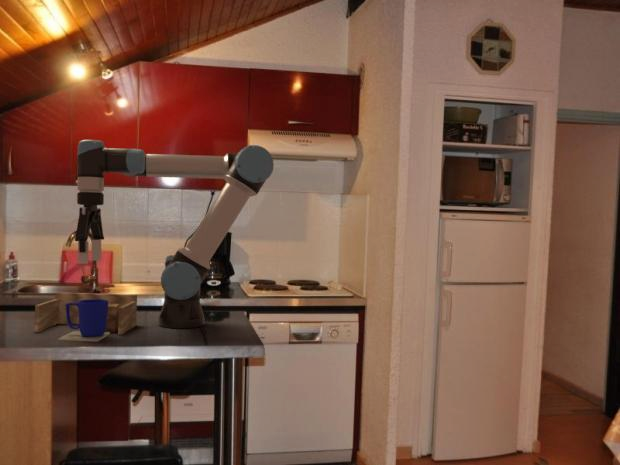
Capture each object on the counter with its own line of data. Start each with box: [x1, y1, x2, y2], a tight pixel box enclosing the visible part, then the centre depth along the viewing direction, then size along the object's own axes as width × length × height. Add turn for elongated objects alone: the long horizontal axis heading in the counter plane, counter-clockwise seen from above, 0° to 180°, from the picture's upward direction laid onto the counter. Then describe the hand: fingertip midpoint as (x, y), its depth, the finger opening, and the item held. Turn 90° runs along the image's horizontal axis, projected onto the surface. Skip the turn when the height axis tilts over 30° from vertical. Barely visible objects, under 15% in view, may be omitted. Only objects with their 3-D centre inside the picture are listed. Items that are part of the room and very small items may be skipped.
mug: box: [66, 299, 108, 337], centre depth 170 cm, size 8×12×10 cm
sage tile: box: [57, 330, 111, 343], centre depth 170 cm, size 11×11×1 cm
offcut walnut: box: [105, 318, 118, 333], centre depth 182 cm, size 6×7×4 cm
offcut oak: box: [107, 304, 119, 320], centre depth 182 cm, size 5×6×4 cm
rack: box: [34, 291, 138, 335], centre depth 183 cm, size 26×16×10 cm, turn 91°
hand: (90, 262), depth 177 cm, fingers open, 13 cm apart
